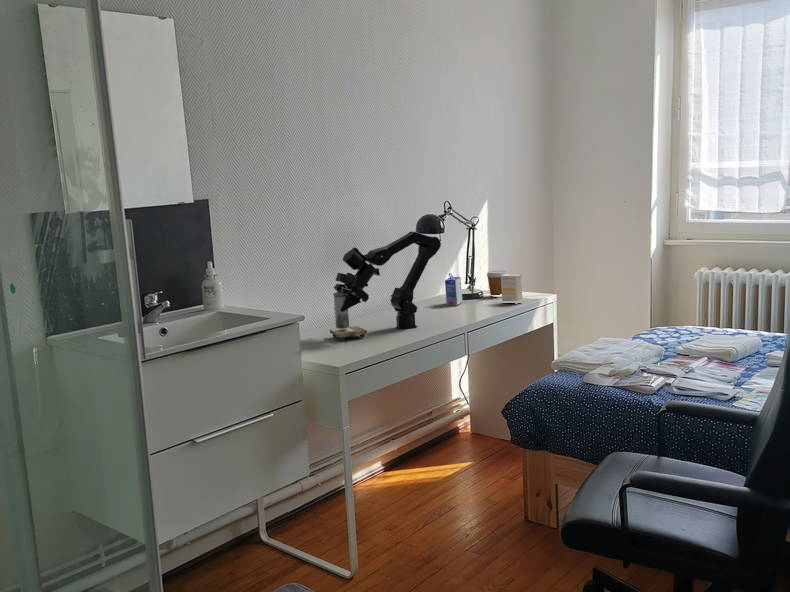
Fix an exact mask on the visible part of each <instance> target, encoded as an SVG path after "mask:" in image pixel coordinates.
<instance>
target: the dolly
mask: <svg viewBox="0 0 790 592" xmlns="http://www.w3.org/2000/svg"><path fill="white" fill-rule="evenodd" d="M329 333H330V334H331V335H332V337H333V338H337V337H338V338H339V340H340V341H341V342H342V341H345V339H346V338H347V337H354V336H359V337H360V338H362V339H363V338H365V336H366V334H368V329H364V328H363V327H360V326H357V325H355V326H354V325H352V326H349V327H348V328H333V329H331V328H330V329H329ZM345 337H346V338H345Z"/></svg>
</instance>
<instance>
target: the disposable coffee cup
mask: <svg viewBox="0 0 790 592" xmlns="http://www.w3.org/2000/svg"><path fill="white" fill-rule="evenodd" d="M504 274H507V272H506V270H489V271H487V273H486V277H487V282H488V288H489V293H490V294H489V295H490V296H491V295H500V294H502V288H501V275H504Z"/></svg>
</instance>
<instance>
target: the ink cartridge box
mask: <svg viewBox="0 0 790 592" xmlns="http://www.w3.org/2000/svg"><path fill="white" fill-rule="evenodd" d="M448 276H449V277H448V278H447V279H445V280H444V287H445V288H444V289H445V301H446V306H447V305H458V304H459V305H460V303H461V302H462V303H463V291H462V290H463V289H462V278H461V276H453V274H452V272H449V273H448ZM462 303H461V304H462ZM459 305H458V306H459Z"/></svg>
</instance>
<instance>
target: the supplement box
mask: <svg viewBox="0 0 790 592" xmlns="http://www.w3.org/2000/svg"><path fill="white" fill-rule="evenodd" d="M522 282H523V281H522V274H515V273H513V274H511V273H506V274H504V275H501V288H502V297H501V301H519V300H521V299H522V300H523V286H522Z"/></svg>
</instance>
